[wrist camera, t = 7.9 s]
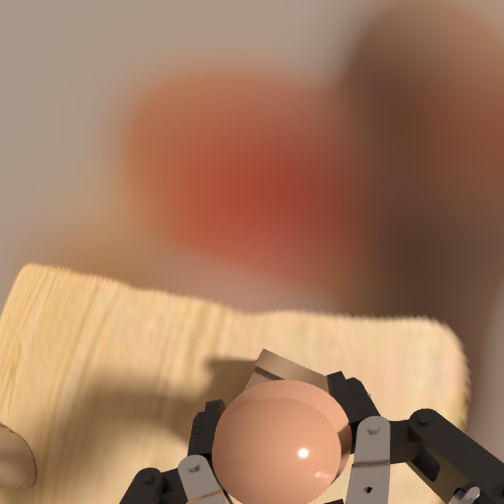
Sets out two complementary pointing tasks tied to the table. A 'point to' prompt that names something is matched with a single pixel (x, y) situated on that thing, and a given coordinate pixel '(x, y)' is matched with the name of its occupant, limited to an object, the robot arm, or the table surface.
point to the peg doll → (281, 443)
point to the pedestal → (283, 372)
